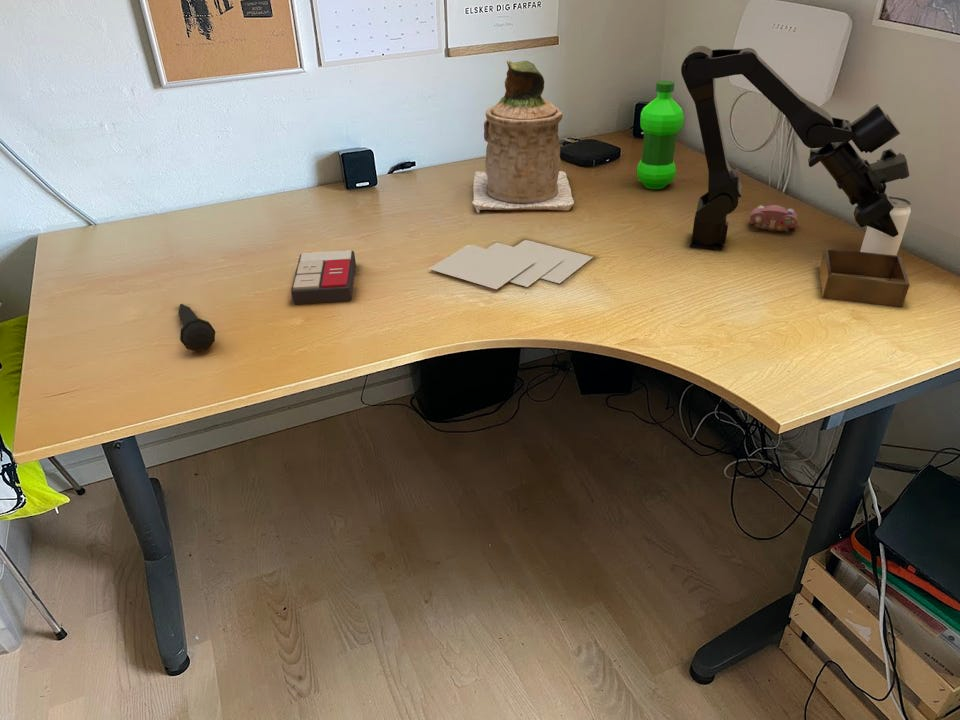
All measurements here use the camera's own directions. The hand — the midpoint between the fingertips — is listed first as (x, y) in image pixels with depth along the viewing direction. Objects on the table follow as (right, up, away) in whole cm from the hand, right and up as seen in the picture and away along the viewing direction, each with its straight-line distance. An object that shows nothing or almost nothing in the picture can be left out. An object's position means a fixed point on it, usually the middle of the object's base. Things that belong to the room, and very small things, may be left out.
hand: (893, 228), depth 140 cm
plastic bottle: (-36, +19, +43) cm, 59 cm away
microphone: (-131, -20, -10) cm, 133 cm away
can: (-1, -5, +4) cm, 7 cm away
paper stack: (-74, -6, +8) cm, 75 cm away
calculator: (-111, -11, +3) cm, 111 cm away
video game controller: (-16, +3, +19) cm, 25 cm away
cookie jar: (-70, +16, +41) cm, 82 cm away
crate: (-9, -12, -5) cm, 16 cm away
